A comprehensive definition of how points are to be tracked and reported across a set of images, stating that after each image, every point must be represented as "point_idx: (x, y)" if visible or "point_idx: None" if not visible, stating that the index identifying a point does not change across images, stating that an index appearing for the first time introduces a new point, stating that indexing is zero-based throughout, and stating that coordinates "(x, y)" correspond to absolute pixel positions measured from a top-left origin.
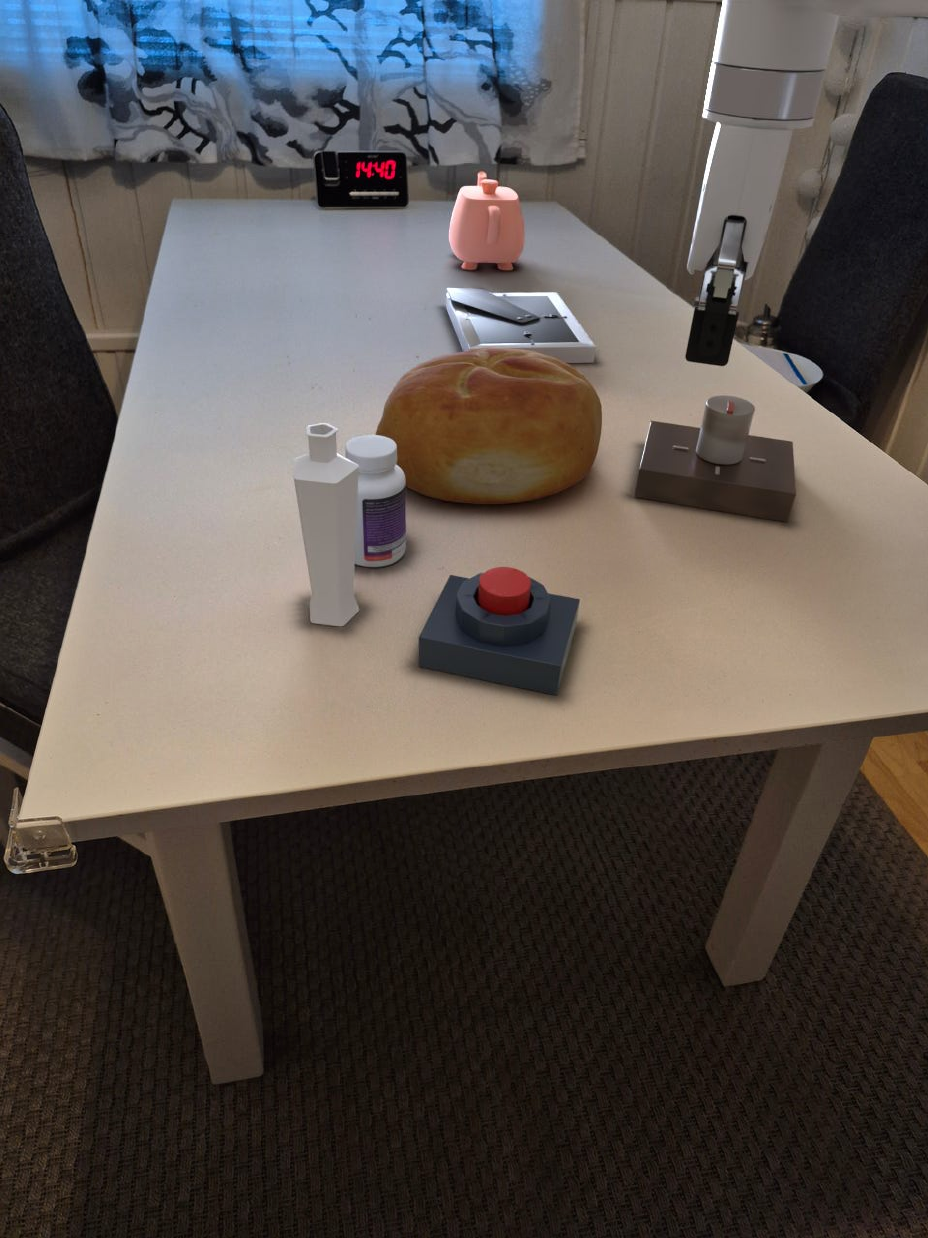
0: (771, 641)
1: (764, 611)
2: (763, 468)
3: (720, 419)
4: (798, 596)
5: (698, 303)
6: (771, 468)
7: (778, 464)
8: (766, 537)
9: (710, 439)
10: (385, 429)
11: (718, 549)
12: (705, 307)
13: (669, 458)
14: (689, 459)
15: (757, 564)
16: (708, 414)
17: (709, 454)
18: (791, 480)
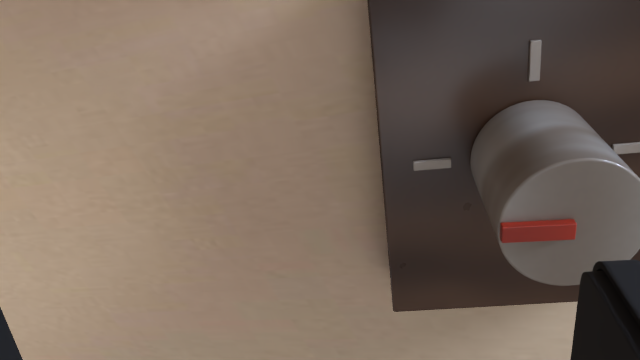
0: (17, 269)
1: (85, 256)
2: (487, 251)
3: (497, 200)
4: (157, 296)
5: (637, 319)
6: (494, 265)
7: (520, 277)
8: (318, 243)
9: (492, 155)
10: None
11: (231, 172)
12: (605, 349)
13: (461, 42)
14: (474, 92)
15: (217, 236)
16: (528, 164)
17: (479, 145)
18: (450, 302)
